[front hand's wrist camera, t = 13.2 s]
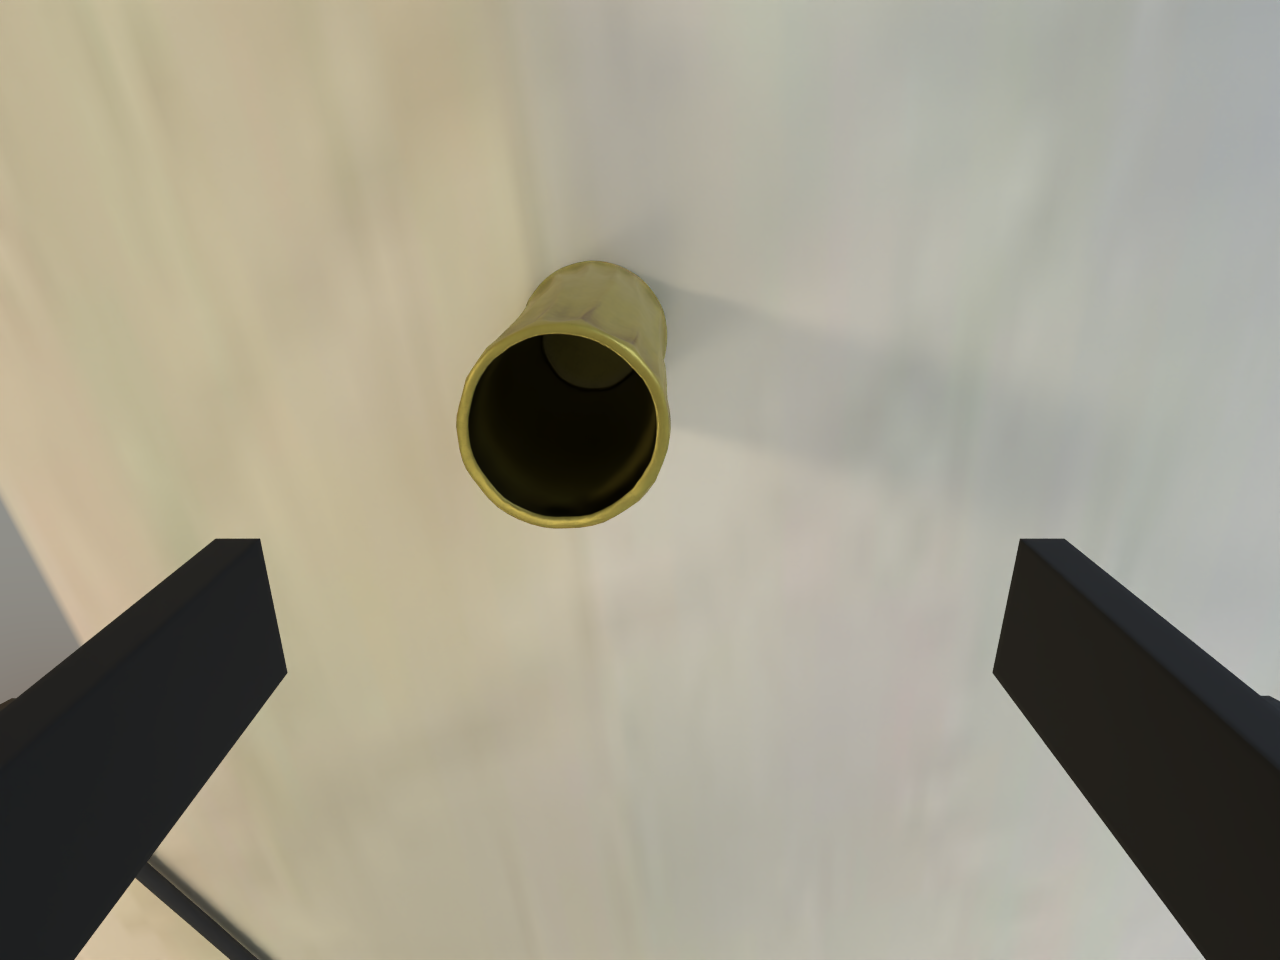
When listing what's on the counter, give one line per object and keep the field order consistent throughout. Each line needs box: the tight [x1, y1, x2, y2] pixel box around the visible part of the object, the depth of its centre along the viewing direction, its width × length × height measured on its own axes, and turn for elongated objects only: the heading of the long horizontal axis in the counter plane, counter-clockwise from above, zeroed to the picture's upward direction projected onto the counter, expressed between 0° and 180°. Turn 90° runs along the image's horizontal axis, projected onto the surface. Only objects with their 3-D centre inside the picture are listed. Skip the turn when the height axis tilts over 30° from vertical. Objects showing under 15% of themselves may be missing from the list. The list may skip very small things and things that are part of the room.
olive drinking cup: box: [456, 261, 671, 528], centre depth 24 cm, size 6×6×14 cm
